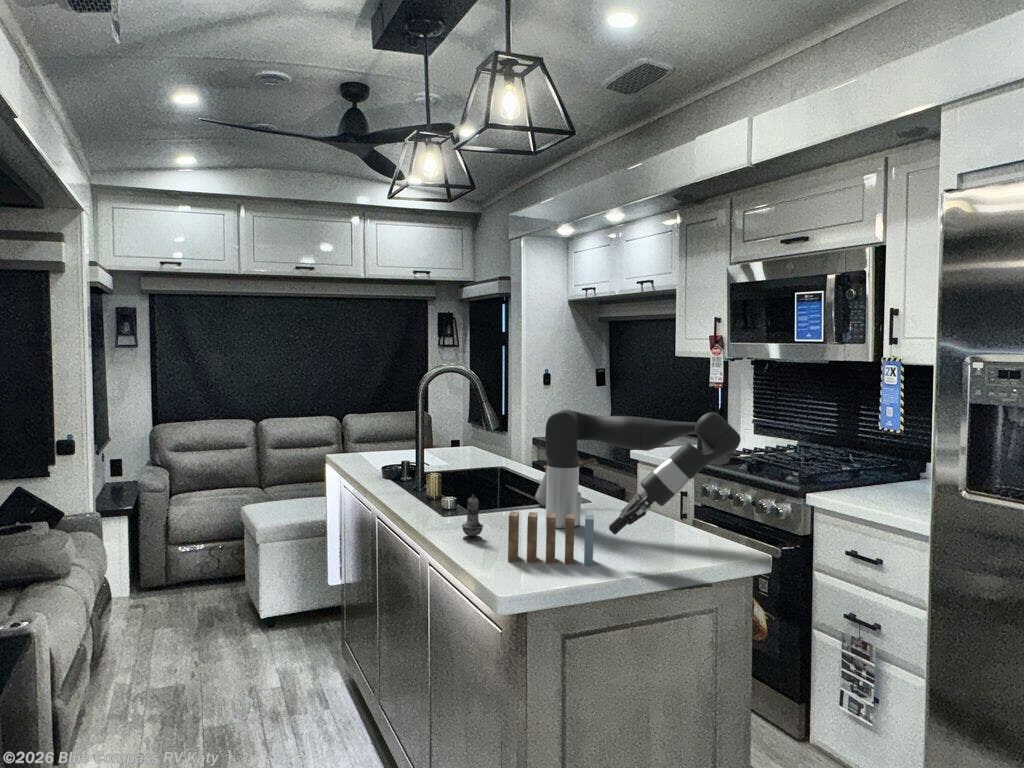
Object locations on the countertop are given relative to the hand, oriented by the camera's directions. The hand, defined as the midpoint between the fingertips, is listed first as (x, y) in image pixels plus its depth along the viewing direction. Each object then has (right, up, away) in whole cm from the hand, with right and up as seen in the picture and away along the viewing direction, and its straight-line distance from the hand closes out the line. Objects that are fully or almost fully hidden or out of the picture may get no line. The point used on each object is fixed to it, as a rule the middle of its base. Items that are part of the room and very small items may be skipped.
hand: (611, 530), depth 176 cm
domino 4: (-10, -8, +1) cm, 13 cm away
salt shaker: (-34, -6, +21) cm, 41 cm away
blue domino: (-5, -8, +1) cm, 9 cm away
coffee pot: (-6, -5, +68) cm, 68 cm away
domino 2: (-19, -7, +2) cm, 20 cm away
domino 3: (-14, -8, +2) cm, 16 cm away
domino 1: (-23, -7, +3) cm, 25 cm away
